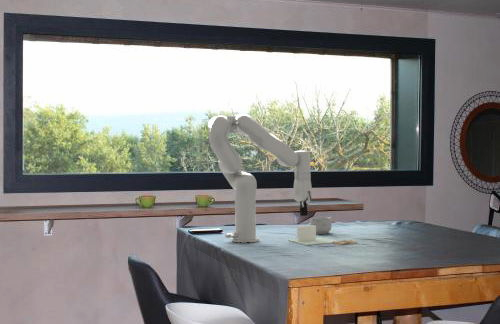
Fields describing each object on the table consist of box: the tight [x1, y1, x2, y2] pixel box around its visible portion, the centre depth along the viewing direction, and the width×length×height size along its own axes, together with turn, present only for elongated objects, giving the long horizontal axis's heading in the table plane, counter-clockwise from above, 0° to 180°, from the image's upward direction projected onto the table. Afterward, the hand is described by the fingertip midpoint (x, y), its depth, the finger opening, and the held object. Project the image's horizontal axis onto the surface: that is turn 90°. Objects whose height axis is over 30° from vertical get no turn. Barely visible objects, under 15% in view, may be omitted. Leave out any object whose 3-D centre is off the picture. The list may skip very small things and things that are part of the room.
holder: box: [332, 239, 358, 246], centre depth 302 cm, size 10×5×1 cm, turn 117°
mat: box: [287, 236, 337, 246], centre depth 309 cm, size 18×16×1 cm
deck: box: [296, 224, 317, 241], centre depth 310 cm, size 9×2×6 cm, turn 117°
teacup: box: [309, 216, 333, 235], centre depth 337 cm, size 14×11×8 cm
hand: (303, 215), depth 318 cm, fingers closed
